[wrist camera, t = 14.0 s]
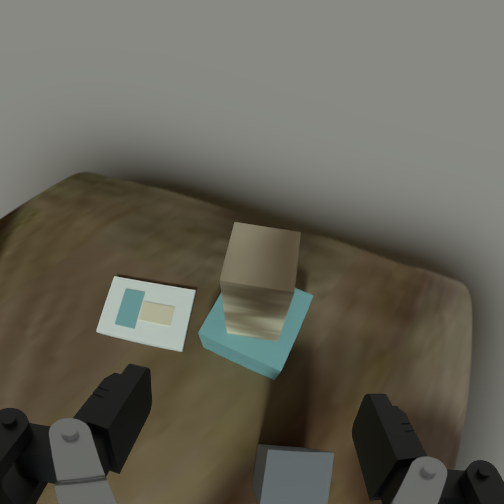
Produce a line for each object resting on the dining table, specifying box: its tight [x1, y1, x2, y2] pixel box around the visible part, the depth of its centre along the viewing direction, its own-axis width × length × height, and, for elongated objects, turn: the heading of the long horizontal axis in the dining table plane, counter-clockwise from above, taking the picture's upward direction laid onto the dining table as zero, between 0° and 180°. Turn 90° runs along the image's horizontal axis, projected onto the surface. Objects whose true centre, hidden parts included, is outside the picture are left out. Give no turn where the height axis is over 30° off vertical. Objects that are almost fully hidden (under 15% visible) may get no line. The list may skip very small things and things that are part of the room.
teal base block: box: [198, 288, 313, 380], centre depth 30 cm, size 8×8×5 cm
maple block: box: [220, 222, 301, 342], centre depth 24 cm, size 4×4×10 cm
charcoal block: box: [252, 444, 334, 504], centre depth 20 cm, size 4×4×10 cm
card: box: [97, 276, 196, 352], centre depth 32 cm, size 10×7×1 cm
